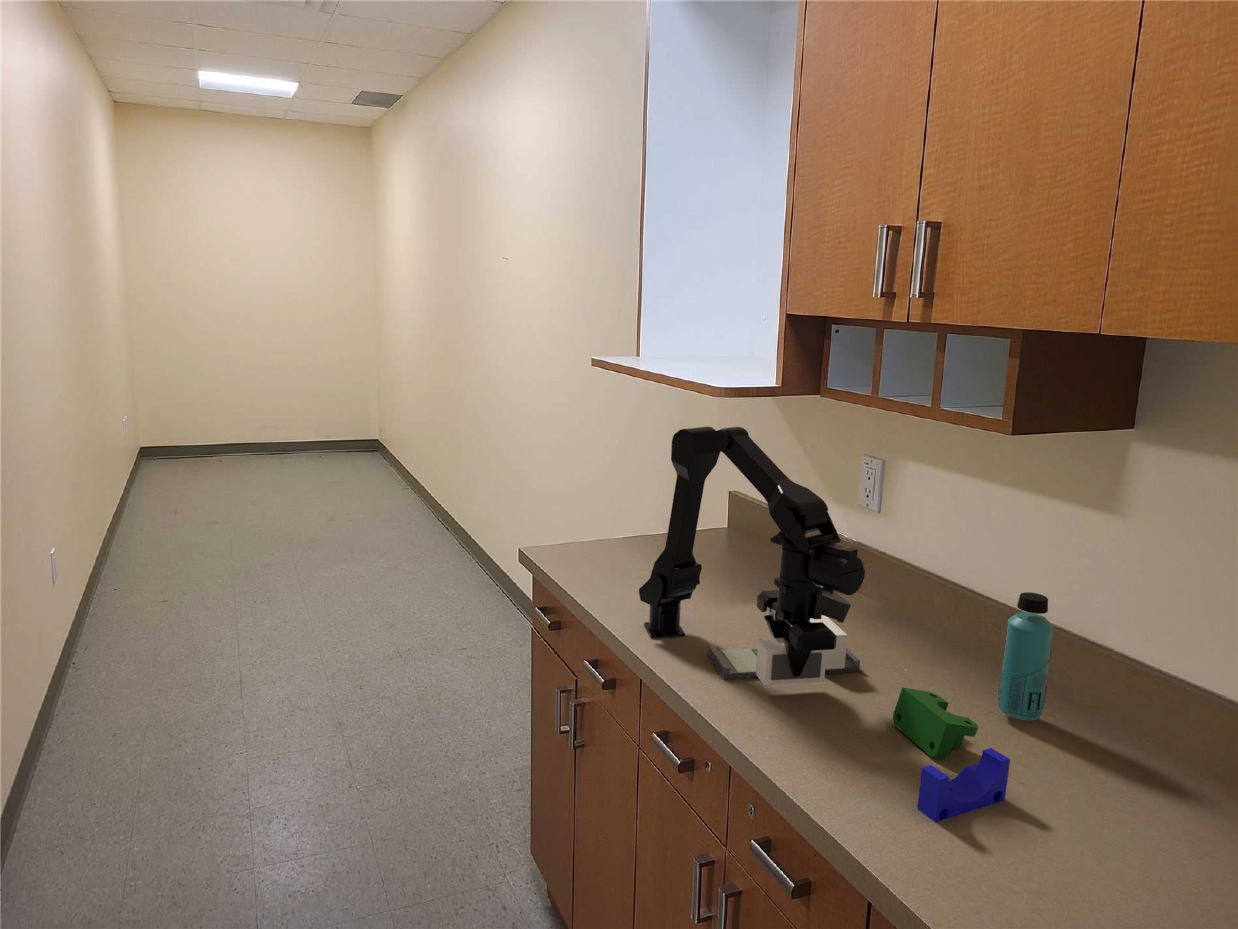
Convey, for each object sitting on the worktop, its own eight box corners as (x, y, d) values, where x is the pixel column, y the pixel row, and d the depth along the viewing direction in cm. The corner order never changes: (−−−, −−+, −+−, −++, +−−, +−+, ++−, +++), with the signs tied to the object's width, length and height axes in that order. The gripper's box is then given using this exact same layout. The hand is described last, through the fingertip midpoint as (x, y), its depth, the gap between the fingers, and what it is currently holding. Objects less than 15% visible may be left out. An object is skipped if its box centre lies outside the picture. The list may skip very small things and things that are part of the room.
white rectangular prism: (755, 674, 142) (758, 639, 141) (814, 670, 144) (816, 636, 143) (765, 686, 138) (767, 650, 136) (825, 683, 140) (828, 647, 138)
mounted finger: (796, 645, 157) (798, 614, 156) (820, 644, 158) (822, 612, 157) (818, 669, 148) (821, 636, 147) (844, 668, 149) (847, 635, 147)
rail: (708, 656, 154) (708, 646, 154) (836, 650, 159) (837, 639, 158) (723, 679, 145) (724, 668, 145) (859, 671, 150) (860, 660, 149)
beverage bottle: (1025, 734, 130) (1042, 606, 126) (985, 715, 136) (1001, 592, 132) (1051, 723, 134) (1068, 598, 130) (1011, 705, 139) (1027, 585, 135)
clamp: (953, 780, 126) (988, 739, 121) (918, 775, 124) (952, 733, 120) (919, 713, 136) (950, 673, 131) (886, 708, 134) (917, 667, 129)
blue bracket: (976, 783, 117) (981, 742, 116) (1004, 801, 113) (1010, 759, 112) (908, 804, 112) (913, 761, 111) (935, 824, 108) (940, 779, 107)
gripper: (873, 595, 130) (864, 693, 133) (822, 556, 148) (814, 643, 151) (802, 598, 128) (794, 697, 131) (758, 558, 146) (752, 646, 149)
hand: (790, 669), depth 140 cm, fingers closed on white rectangular prism, 4 cm apart
